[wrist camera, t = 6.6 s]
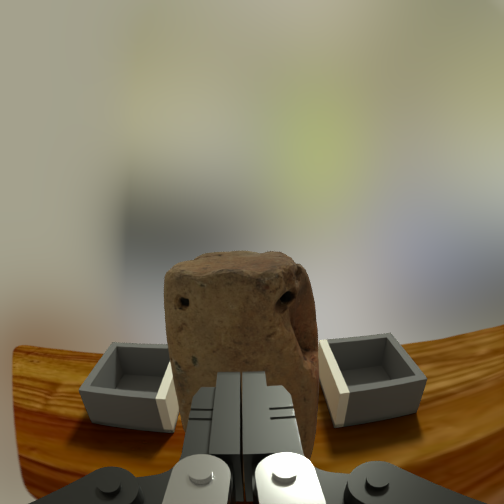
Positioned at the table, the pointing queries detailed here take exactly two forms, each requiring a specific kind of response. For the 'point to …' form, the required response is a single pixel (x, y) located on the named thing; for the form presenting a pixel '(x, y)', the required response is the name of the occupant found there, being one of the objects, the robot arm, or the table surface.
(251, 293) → the block
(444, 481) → the table surface
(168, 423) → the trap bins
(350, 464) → the table surface
